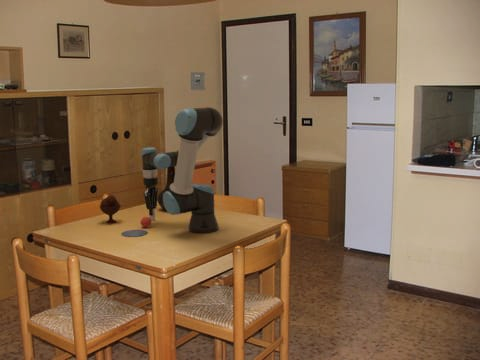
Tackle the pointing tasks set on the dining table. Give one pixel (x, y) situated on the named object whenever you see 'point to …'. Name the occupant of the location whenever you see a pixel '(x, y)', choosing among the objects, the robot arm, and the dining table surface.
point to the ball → (145, 221)
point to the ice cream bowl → (110, 207)
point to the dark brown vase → (167, 185)
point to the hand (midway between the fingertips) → (152, 220)
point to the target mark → (134, 233)
